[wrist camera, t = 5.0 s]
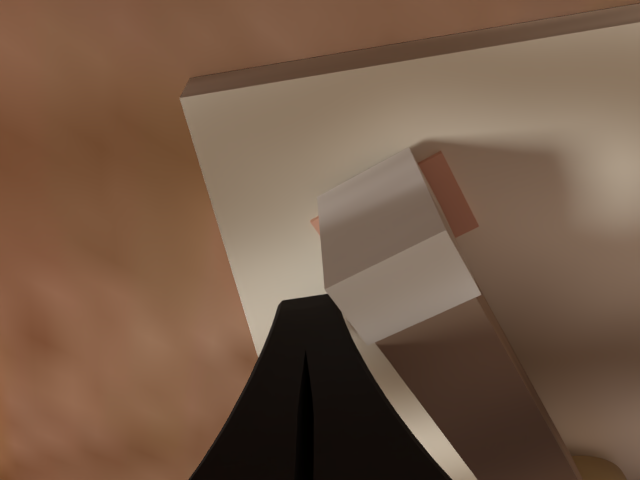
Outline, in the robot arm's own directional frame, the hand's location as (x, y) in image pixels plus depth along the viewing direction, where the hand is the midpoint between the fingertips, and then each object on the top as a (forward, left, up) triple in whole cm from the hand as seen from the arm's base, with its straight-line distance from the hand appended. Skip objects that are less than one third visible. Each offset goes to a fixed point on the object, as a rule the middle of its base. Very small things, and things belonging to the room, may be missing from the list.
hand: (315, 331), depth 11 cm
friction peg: (-4, -4, -1) cm, 6 cm away
